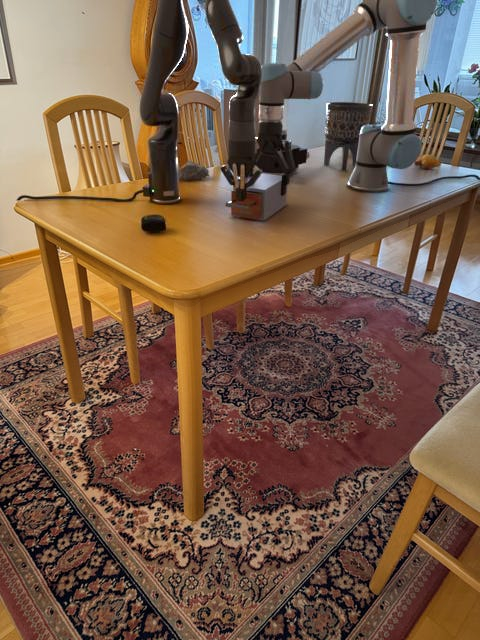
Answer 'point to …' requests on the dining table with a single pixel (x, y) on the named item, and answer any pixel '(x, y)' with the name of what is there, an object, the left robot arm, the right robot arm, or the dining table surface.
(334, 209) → the dining table surface
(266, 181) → the grey rectangular box
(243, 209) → the drawer
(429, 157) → the toy
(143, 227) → the tape measure
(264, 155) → the mechanical component
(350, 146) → the planter
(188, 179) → the rock
